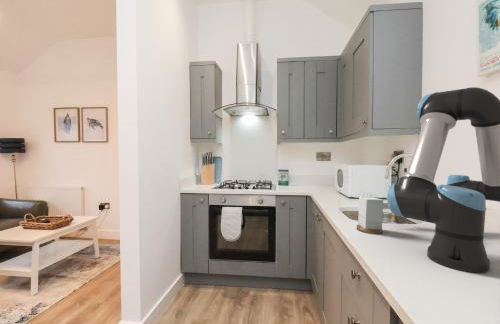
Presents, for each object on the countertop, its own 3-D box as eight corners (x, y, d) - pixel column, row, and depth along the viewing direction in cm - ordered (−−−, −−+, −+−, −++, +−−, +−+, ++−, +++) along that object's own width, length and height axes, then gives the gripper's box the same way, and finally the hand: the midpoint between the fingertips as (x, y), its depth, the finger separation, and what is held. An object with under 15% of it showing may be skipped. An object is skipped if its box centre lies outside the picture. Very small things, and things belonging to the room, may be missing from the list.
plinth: (387, 234, 106) (387, 230, 106) (364, 233, 105) (364, 230, 105) (373, 227, 116) (373, 223, 116) (352, 226, 115) (352, 223, 115)
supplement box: (382, 229, 106) (384, 200, 106) (364, 229, 106) (366, 199, 106) (373, 224, 114) (375, 196, 113) (357, 224, 114) (358, 196, 113)
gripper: (461, 226, 100) (411, 225, 98) (414, 211, 125) (374, 210, 123) (462, 207, 100) (412, 206, 98) (415, 196, 125) (374, 195, 123)
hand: (391, 209), depth 111 cm, fingers open, 13 cm apart
